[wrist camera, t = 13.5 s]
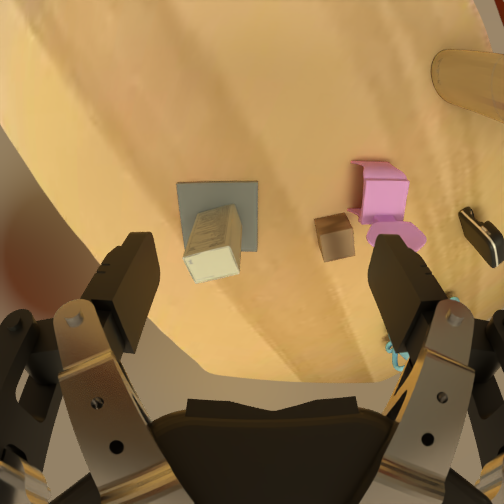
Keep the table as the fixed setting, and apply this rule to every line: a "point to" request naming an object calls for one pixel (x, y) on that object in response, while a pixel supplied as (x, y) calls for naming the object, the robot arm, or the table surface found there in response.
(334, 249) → the walnut block
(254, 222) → the coaster
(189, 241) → the skincare box
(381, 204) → the toy chair
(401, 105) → the table surface
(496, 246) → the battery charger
